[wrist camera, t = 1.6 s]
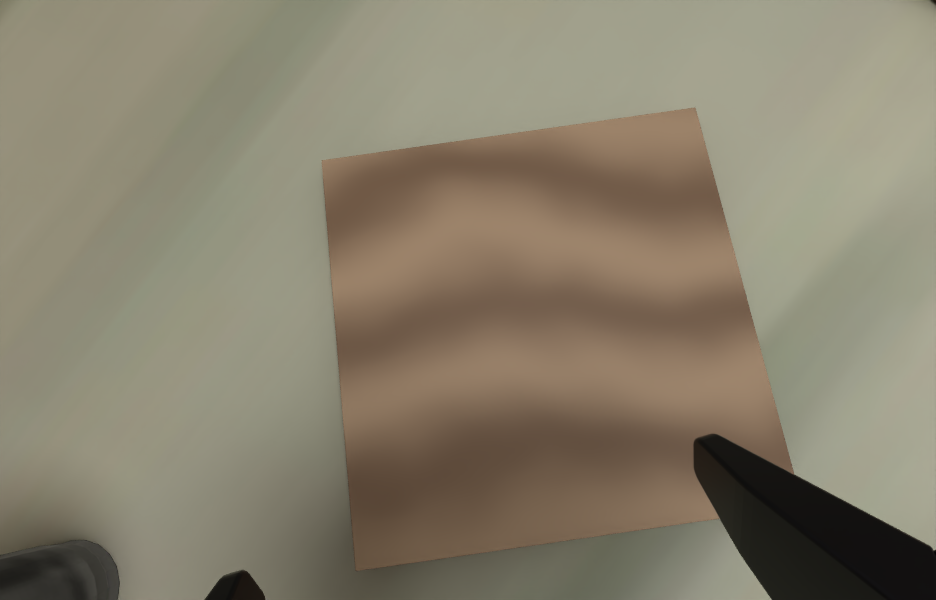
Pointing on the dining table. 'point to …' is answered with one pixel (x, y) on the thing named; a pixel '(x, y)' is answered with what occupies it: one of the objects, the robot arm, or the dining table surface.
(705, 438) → the robot arm
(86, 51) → the dining table surface
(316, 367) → the dining table surface
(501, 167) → the walnut board
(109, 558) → the beverage cup
